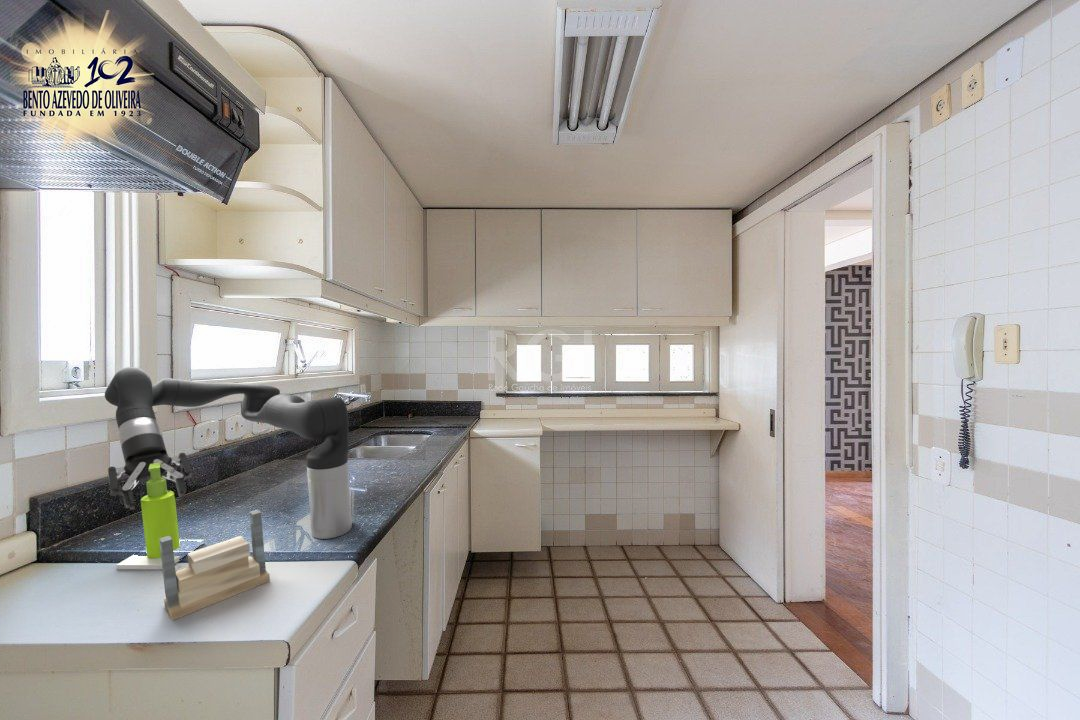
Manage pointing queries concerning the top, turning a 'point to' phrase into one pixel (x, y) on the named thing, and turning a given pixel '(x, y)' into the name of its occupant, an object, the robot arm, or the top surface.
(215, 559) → the offcut rack
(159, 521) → the soap dispenser
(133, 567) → the pad
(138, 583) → the top surface
